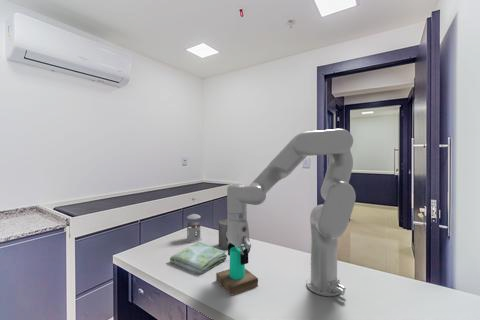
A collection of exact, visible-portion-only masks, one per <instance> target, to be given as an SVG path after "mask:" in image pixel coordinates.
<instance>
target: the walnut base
mask: <svg viewBox="0 0 480 320" xmlns="http://www.w3.org/2000/svg"><path fill="white" fill-rule="evenodd" d="M215 278H216V279H215V281H216V282H218V284H219V285H220V286H221V287H222V288H223V289H224V290H225V291H226V292H227V294H229V295H230V296H233V295H236V294H239V293H241V292H244V291H247V290H250V289H252V288H255V287H258V286H259V278H258V277H257V276H256V275H255V274H253V273H252V272H250V271H249V270H248V269H246V268H245V276H244V278H242V279H237V280H236V279H232V278H231V277H230V268H229V269H225V270H222V271H219V272H216V274H215Z"/></svg>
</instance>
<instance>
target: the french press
mask: <svg viewBox="0 0 480 320" xmlns="http://www.w3.org/2000/svg"><path fill="white" fill-rule="evenodd" d="M195 200H196V198H195V197H193V198H192V200H191V201H195ZM186 218H187V220H193V221H192V222H191V221H190V222H188V223H187V226H186V235H187V236H186V239H185V240H186V241H185V242H186V243H188V242H190V243H189V244H196V243H195V242H197V243H198V242H199V241H200V242H201V240H203V239H202V237H201V225H200V224H201V222H200V219H201V218H202V216H201V215H199V214H197V213H192V214H189V215H187V216H186ZM197 220H198V222H197Z"/></svg>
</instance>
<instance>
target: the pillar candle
mask: <svg viewBox="0 0 480 320" xmlns="http://www.w3.org/2000/svg"><path fill="white" fill-rule="evenodd" d="M227 226H228V218H225V219H220V220H218V247H219V248H220V249H221V250H228V246H229V245H227V237H226V232H227Z"/></svg>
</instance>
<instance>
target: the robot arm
mask: <svg viewBox="0 0 480 320" xmlns="http://www.w3.org/2000/svg"><path fill="white" fill-rule="evenodd" d="M353 144H354V138H353V135H352V133H351V132H350V131H348V130H347V129H344V128H335V129H334V128H333V129H325V130H324V129H323V130H312V131H311V130H310V131H303V132H300V133H298V134H297V135H295V136H293V137H292V139H291V140H289V142H288V143H287V144H286V145H285V146H284V147H283V149H282V150H280V152H279V153H278V154H277V155H276V156H275V157H274V158H273V159H272V160H271V161H270V162H269V163H268V165H267V166H266V167H265V168H264V169H263V170H262V171H261V173H259V175H258V176H257V177H256V178H255V179H253V181H252V182H251V183H250V184H249V185H247V186H246V185H244V184H239V183H238V184H237V183H236V184H230V185H228V186H227V189H226V194H227V195H226V199H227V201H226V202H227V206H226V209H227V219H228V226H227V232H226V237H227V245H229V246H228V249H227V256H229V257H230V249H231V248H233V247H238V248H240V251H241V254H240V259H241V265H244V264H245V265H247V264H248V263H249V254H250V251H251V248H252V244H251V243H250V229H249V223H248V222H249V221H248V220H247V219H248V217H247V215H248V214H247V212H248V211H247V209H248V208H247V205H252V206H258V205H262V204H264V202H265V201H266V198H267V193H268V192H269V191H270V190H271V189H272V188H273V187H274V186H276V185H277V183H278V182H280V181H282V180H283V179H285V178H287V177H289V176H290V174H292V172H293V171H295V169H296V168H297V167H298V166H299V165H301V163H302V162H303V161H304V160H305V159H306V158H307V157H309V156H323V155H325V156H327V157H328V163H327V168H326V172H325V175H324V178H323V182H322V185H321V188H320V195H321V198H322V199H323V200H324V202H323V204H318V205H316V206H314V208H312V209H311V213H310V215H309V216H310V217H309V221H310V235H311V237H310V240H311V242H310V243H311V244H310V277H308V278H307V279H306V286H307V288H308V290H310V291H311V292H312V293H314V294H317V295H319V296H324V297H336V296H338V295H341V296H344V295H345V293H346V286H343V285H342V284H341V283H340V279H339V278H338V247H339V244H338V239H339V238H341V237H342V236H343V235H344V234H345V232H346V230H347V227H348V226H349V222H350V218H351V216H352V214H353V210H354V207H355V203H356V200H357V199H356V197H357V195H356V191H355V189H354V187H353V186H352V185H351V184H350V179H351V175H352V171H353V167H354V158H353V155H352V152H351V148H353ZM243 248H244V251H243Z"/></svg>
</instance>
